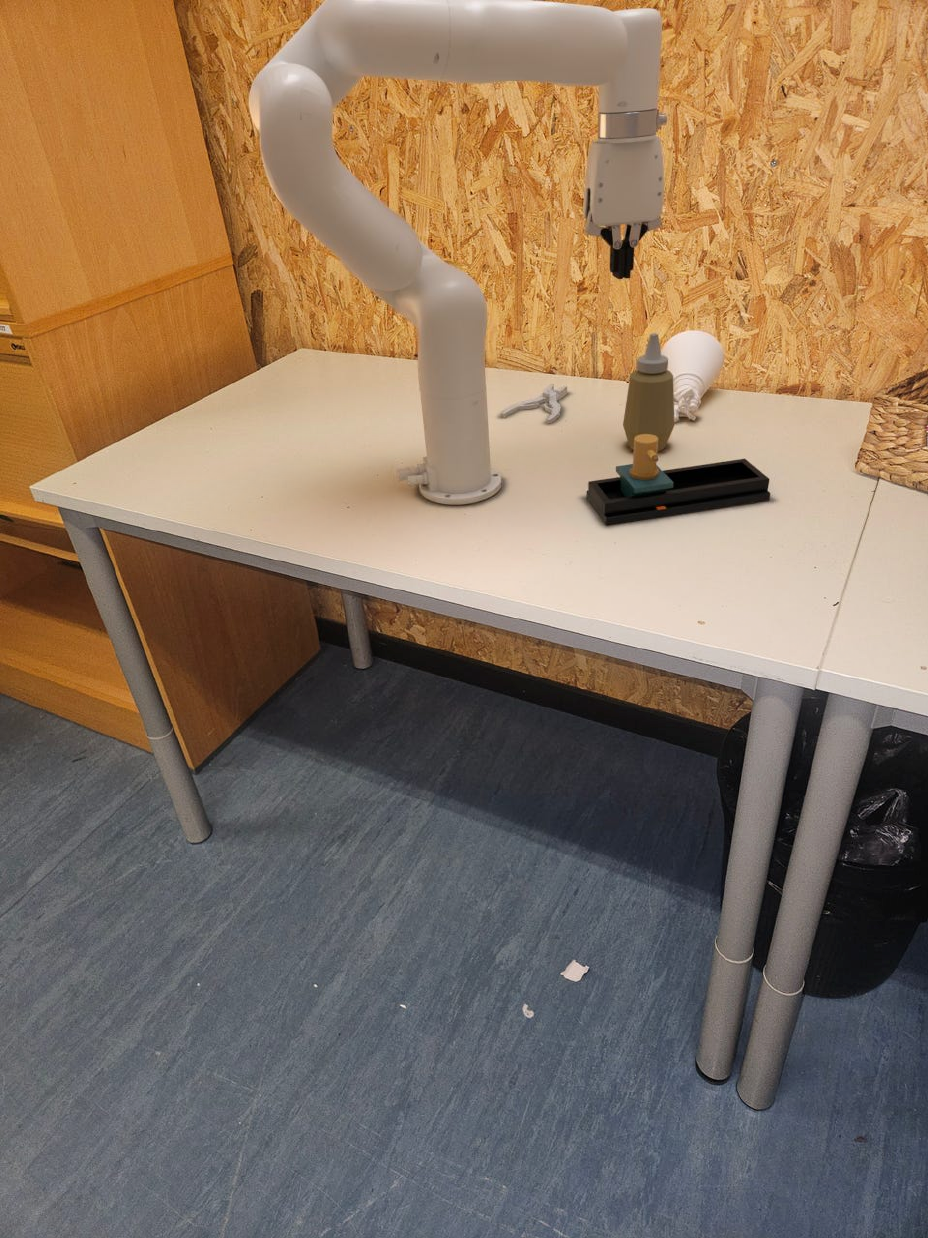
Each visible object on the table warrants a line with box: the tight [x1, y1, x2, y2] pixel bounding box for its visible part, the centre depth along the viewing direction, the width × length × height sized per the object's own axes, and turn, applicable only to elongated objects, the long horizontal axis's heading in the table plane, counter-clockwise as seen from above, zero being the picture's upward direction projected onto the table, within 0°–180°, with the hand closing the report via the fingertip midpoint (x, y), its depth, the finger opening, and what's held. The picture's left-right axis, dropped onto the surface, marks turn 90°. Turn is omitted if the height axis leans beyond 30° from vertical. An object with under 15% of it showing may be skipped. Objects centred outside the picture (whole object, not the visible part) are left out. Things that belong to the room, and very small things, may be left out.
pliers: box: [501, 383, 568, 425], centre depth 151 cm, size 10×2×15 cm
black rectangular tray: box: [585, 458, 771, 526], centre depth 117 cm, size 24×9×3 cm, turn 101°
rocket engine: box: [660, 330, 725, 423], centre depth 144 cm, size 12×12×18 cm
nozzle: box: [615, 434, 673, 497], centre depth 114 cm, size 6×8×8 cm
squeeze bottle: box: [622, 333, 675, 452], centre depth 128 cm, size 8×8×18 cm
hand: (621, 276), depth 116 cm, fingers closed
